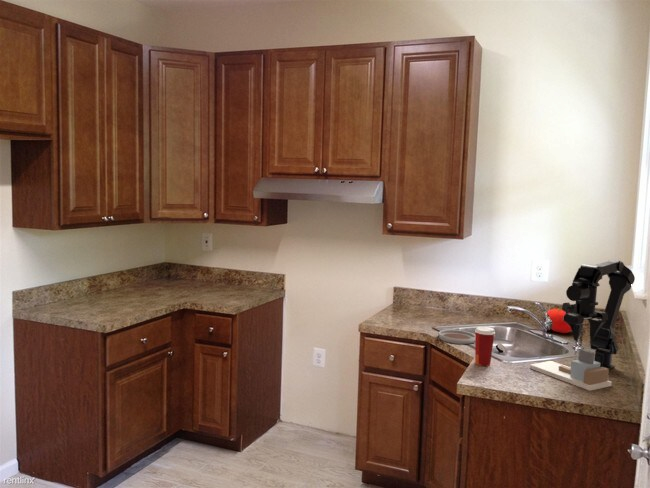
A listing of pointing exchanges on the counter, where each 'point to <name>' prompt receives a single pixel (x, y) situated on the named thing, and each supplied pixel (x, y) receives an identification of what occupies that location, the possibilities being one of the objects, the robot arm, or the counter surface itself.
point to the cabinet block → (583, 364)
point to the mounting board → (591, 378)
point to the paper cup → (483, 345)
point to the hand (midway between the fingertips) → (583, 339)
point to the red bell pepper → (558, 321)
